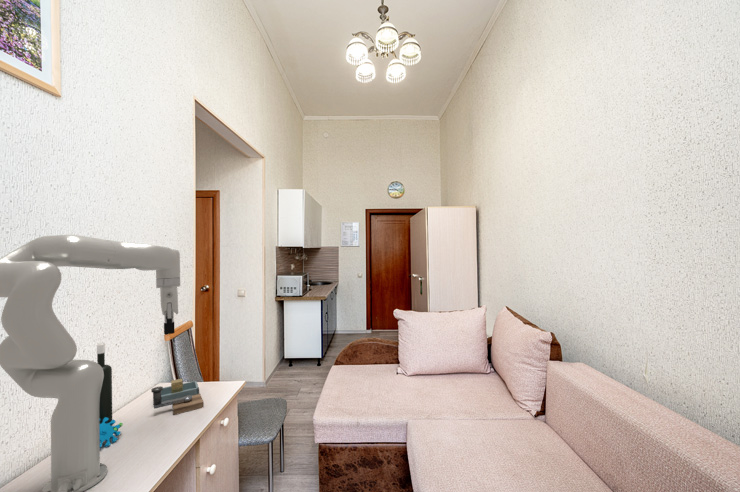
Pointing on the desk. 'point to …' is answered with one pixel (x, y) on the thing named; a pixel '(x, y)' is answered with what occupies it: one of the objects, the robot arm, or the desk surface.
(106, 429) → the blue lobed piece
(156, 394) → the crank
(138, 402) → the desk surface
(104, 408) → the wine bottle
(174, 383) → the block
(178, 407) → the crank base
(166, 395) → the tray
